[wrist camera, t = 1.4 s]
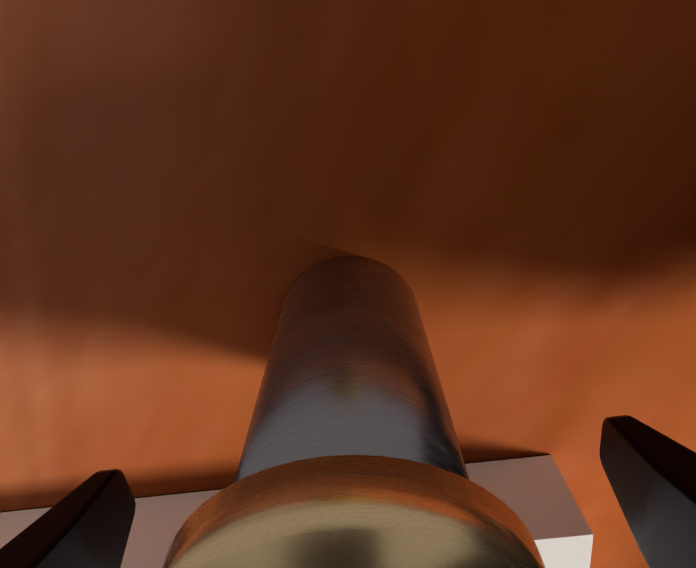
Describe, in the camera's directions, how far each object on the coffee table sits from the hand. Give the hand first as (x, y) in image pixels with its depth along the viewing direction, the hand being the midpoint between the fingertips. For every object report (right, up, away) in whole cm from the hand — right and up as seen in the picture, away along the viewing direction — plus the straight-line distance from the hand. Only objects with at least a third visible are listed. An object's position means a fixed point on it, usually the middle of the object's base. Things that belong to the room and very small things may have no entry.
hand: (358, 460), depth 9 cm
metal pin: (0, +2, +5) cm, 6 cm away
